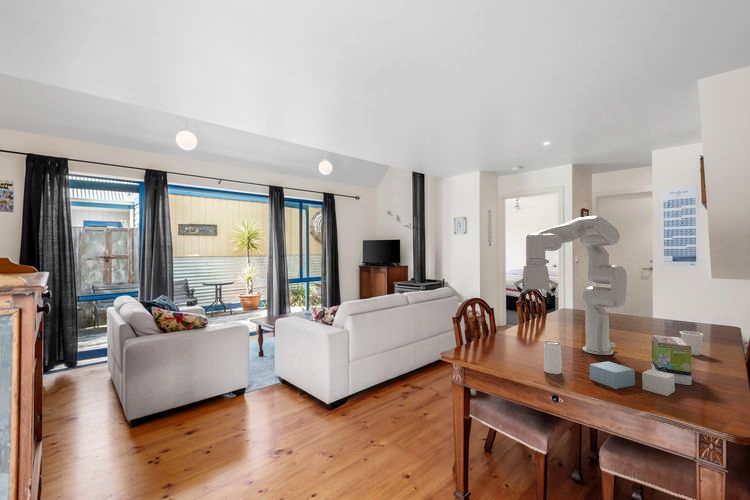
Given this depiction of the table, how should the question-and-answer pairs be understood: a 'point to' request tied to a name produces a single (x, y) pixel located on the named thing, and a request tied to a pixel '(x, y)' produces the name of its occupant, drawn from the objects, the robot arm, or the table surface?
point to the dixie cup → (693, 340)
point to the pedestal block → (612, 374)
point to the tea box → (672, 357)
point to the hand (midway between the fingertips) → (535, 302)
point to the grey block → (658, 382)
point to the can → (552, 357)
